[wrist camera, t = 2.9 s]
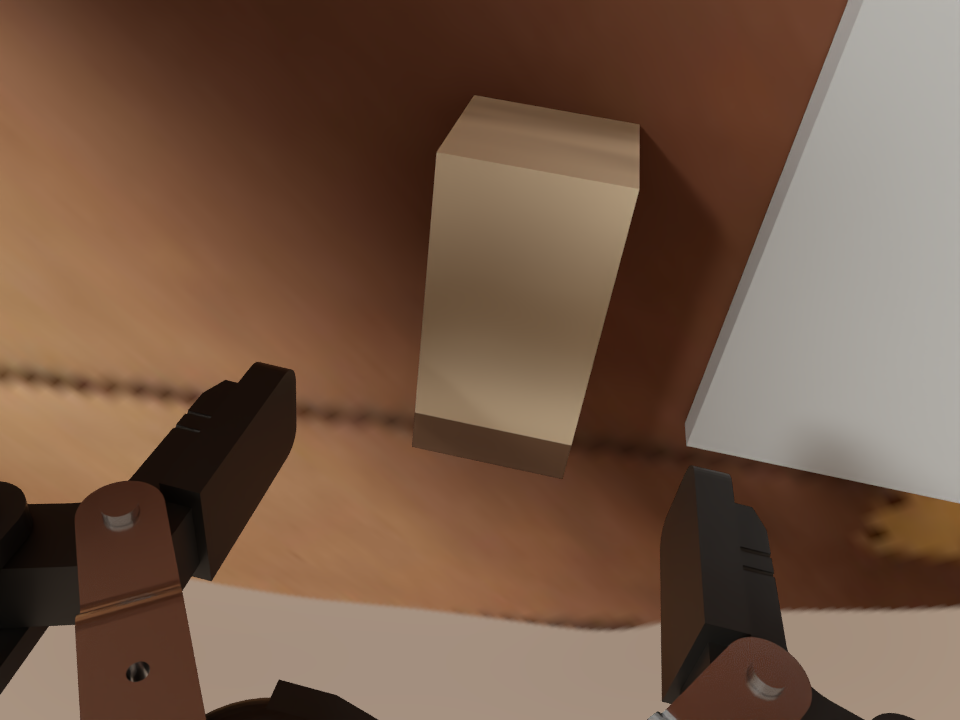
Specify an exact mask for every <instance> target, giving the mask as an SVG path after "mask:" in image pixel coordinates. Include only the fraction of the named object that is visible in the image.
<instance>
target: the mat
mask: <svg viewBox="0 0 960 720" xmlns="http://www.w3.org/2000/svg"><path fill="white" fill-rule="evenodd" d="M685 433H686V446H690V447H695V448H700V449H704V450H709V451H714V452H719V453H723V454H728V455H733V456H737V457H742V458H747V459H752V460H756V461H761V462H766V463H771V464H775V465H780V466H785V467H790V468H794V469H799V470H804V471H809V472H813V473H818V474H823V475H828V476H832V477H837V478H842V479H847V480H851V481H856V482H861V483H866V484H870V485H875V486H880V487H885V488H889V489H894V490H899V491H904V492H908V493H913V494H918V495H922V496H927V497H932V498H937V499H941V500H946V501H951V502H956V503H960V0H848V3H847V5H846V8H845V11H844V13H843V16H842V18H841V21H840V23H839V26H838V29H837V31H836V34H835V36H834V39H833V42H832V44H831V47H830V49H829V52H828V55H827V57H826V60H825V62H824V65H823V67H822V70H821V73H820V75H819V78H818V80H817V83H816V86H815V88H814V91H813V93H812V96H811V99H810V101H809V104H808V106H807V109H806V111H805V114H804V117H803V119H802V122H801V124H800V127H799V130H798V132H797V135H796V137H795V140H794V142H793V145H792V148H791V150H790V153H789V155H788V158H787V161H786V163H785V166H784V168H783V171H782V174H781V176H780V179H779V181H778V184H777V186H776V189H775V192H774V194H773V197H772V199H771V202H770V205H769V207H768V210H767V212H766V215H765V218H764V220H763V223H762V225H761V228H760V230H759V233H758V236H757V238H756V241H755V243H754V246H753V249H752V251H751V254H750V256H749V259H748V261H747V264H746V267H745V269H744V272H743V274H742V277H741V280H740V282H739V285H738V287H737V290H736V293H735V295H734V298H733V300H732V303H731V305H730V308H729V311H728V313H727V316H726V318H725V321H724V324H723V326H722V329H721V331H720V334H719V337H718V339H717V342H716V344H715V347H714V349H713V352H712V355H711V357H710V360H709V362H708V365H707V368H706V370H705V373H704V375H703V378H702V380H701V383H700V386H699V388H698V391H697V393H696V396H695V399H694V401H693V404H692V406H691V409H690V412H689V414H688V417H687V419H686V422H685Z"/></svg>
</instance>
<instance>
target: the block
mask: <svg viewBox="0 0 960 720" xmlns="http://www.w3.org/2000/svg"><path fill="white" fill-rule="evenodd" d="M639 168H640V124H634V123H629V122H623V121H617V120H612V119H606V118H601V117H595V116H589V115H584V114H578V113H572V112H567V111H561V110H555V109H550V108H544V107H538V106H533V105H527V104H522V103H516V102H510V101H505V100H499V99H493V98H488V97H482V96H476V95H474V96H473V98H472V99H471V101H470V102H469V104H468V105H467V107H466V108H465V110H464V111H463V113H462V114H461V116H460V117H459V119H458V120H457V122H456V123H455V125H454V126H453V128H452V130H451V131H450V133H449V134H448V136H447V137H446V139H445V140H444V142H443V143H442V145H441V146H440V148H439V149H438V151H437V154H436V166H435V178H434V190H433V202H432V214H431V226H430V238H429V250H428V262H427V274H426V286H425V298H424V310H423V322H422V334H421V346H420V358H419V370H418V382H417V394H416V406H415V418H414V430H413V442H412V447H415V448H420V449H425V450H429V451H434V452H439V453H443V454H448V455H453V456H457V457H462V458H466V459H471V460H476V461H480V462H485V463H490V464H494V465H499V466H504V467H508V468H513V469H518V470H522V471H527V472H532V473H536V474H541V475H546V476H550V477H555V478H559V479H563V475H564V471H565V467H566V464H567V460H568V456H569V452H570V449H571V445H572V441H573V437H574V434H575V430H576V426H577V422H578V419H579V415H580V411H581V407H582V403H583V400H584V396H585V392H586V388H587V385H588V381H589V377H590V373H591V370H592V366H593V362H594V358H595V354H596V351H597V347H598V343H599V339H600V336H601V332H602V328H603V324H604V321H605V317H606V313H607V309H608V306H609V302H610V298H611V294H612V290H613V287H614V283H615V279H616V275H617V272H618V268H619V264H620V260H621V257H622V253H623V249H624V245H625V242H626V238H627V234H628V230H629V226H630V223H631V219H632V215H633V211H634V208H635V204H636V200H637V196H638V193H639Z"/></svg>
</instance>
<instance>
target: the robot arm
mask: <svg viewBox="0 0 960 720" xmlns="http://www.w3.org/2000/svg"><path fill="white" fill-rule="evenodd" d="M295 434H296V377H295V373H294V371H293V370H291V369H287V368H282V367H278V366H274V365H270V364H265V363H261V362H256V363H254V364H253V365H252V366H251V367H250V369H249V370H248V371H247V372H246V374H245V375H244V376H243V377H242V379H241V380H240V381H239V382H238V383H236V382H232V381H228V380H225V381H223V382H221V383H219V384H218V385H216V386H214V387H212V388H211V389H209V390H207V391H205V392H204V393H202V394H201V396H200V397H199V398H198V399H197V400H196V402H195V403H194V404H193V405H192V406H191V407H190V409H189V410H188V413H187V414H185V415H184V416H183V417H182V418H181V419H180V421H179V422H178V423H177V424H176V428H173V429H172V430H171V431H170V432H169V434H168V435H167V436H166V437H165V438H164V439H163V441H162V442H161V443H160V444H159V445H158V447H157V448H156V449H155V450H154V451H153V452H152V454H151V455H150V456H149V457H148V458H147V460H146V461H145V462H144V463H143V464H142V465H141V467H140V468H139V469H138V470H137V471H136V473H135V474H134V475H133V476H132V477H131V478H130V479H129V480H128V481H122V482H116V483H112V484H109V485H106V486H104V487H101V488H99V489H98V490H96V491H94V492H93V493H91V494H90V495H89V496H87V497H86V498H85V499H84V500H83V501H82V502H81V503H65V504H27V501H26V498H25V495H24V493H23V492H22V491H21V489H19V488H18V487H17V486H15V485H13V484H10V483H7V482H1V481H0V694H1V693H2V691H3V690H4V689H5V687H6V686H7V684H8V683H9V682H10V680H11V679H12V677H13V676H14V674H15V673H16V671H17V670H18V669H19V667H20V666H21V665H22V663H23V662H24V660H25V659H26V658H27V656H28V655H29V653H30V652H31V650H32V649H33V648H34V646H35V645H36V643H37V642H38V641H39V639H40V638H41V636H42V635H43V634H44V632H45V631H46V629H47V628H48V627H49V626H58V625H75V633H76V651H77V668H78V687H79V705H80V720H377V719H376V718H374V717H373V716H371V715H369V714H368V713H366V712H364V711H362V710H361V709H359V708H357V707H356V706H354V705H352V704H351V703H349V702H347V701H345V700H344V699H342V698H340V697H339V696H337V695H334V694H330V693H326V692H322V691H319V690H315V689H311V688H308V687H304V686H300V685H297V684H293V683H290V682H286V681H282V680H279V681H278V683H277V685H276V687H275V689H274V691H273V694H272V696H271V698H257V699H249V700H245V701H240V702H236V703H232V704H229V705H226V706H223V707H221V708H218V709H216V710H213V711H211V712H209V713H207V714H205V711H204V706H203V700H202V695H201V690H200V684H199V679H198V673H197V668H196V663H195V657H194V652H193V647H192V641H191V636H190V631H189V625H188V620H187V615H186V609H185V604H184V599H183V593H182V591H183V589H184V587H185V586H186V584H187V583H188V581H189V580H190V578H191V577H192V576H193V577H197V578H201V579H205V580H209V581H212V580H213V578H214V576H215V575H216V573H217V571H218V570H219V568H220V566H221V565H222V563H223V562H224V560H225V558H226V557H227V555H228V553H229V552H230V550H231V549H232V547H233V545H234V544H235V542H236V540H237V539H238V537H239V535H240V534H241V532H242V531H243V529H244V527H245V526H246V524H247V522H248V521H249V519H250V517H251V516H252V514H253V513H254V511H255V509H256V508H257V506H258V504H259V503H260V501H261V499H262V498H263V496H264V495H265V493H266V491H267V490H268V488H269V486H270V485H271V483H272V481H273V480H274V478H275V477H276V475H277V473H278V472H279V470H280V468H281V467H282V465H283V464H284V462H285V460H286V459H287V457H288V455H289V453H290V451H291V448H292V446H293V443H294V439H295ZM770 554H771V553H770V547H769V541H768V535H767V530H766V529H765V527H764V525H763V524H762V522H761V521H760V519H759V517H758V516H757V514H756V513H755V511H754V509H753V508H752V507H749V506H745V505H741V504H736V503H735V502H734V495H733V487H732V480H731V477H730V475H729V474H726V473H722V472H717V471H713V470H709V469H705V468H700V467H696V466H692V465H691V466H689V467H688V469H687V471H686V473H685V475H684V477H683V479H682V482H681V484H680V486H679V489H678V491H677V493H676V496H675V498H674V500H673V503H672V505H671V507H670V510H669V512H668V514H667V517H666V519H665V523H664V526H663V530H662V536H661V543H660V579H661V656H662V657H661V659H662V660H661V663H662V702H666V703H670V704H671V705H670V706H669V707H668V708H667V709H666V710H665V711H664V712H663V713H660V712H656V713H654V714H653V715H652V716H651V717H650V718H648V719H647V720H864V719H862V718H860V717H858V716H857V715H855V714H853V713H851V712H849V711H847V710H846V709H844V708H842V707H840V706H839V705H837V704H835V703H833V702H832V701H830V700H828V699H827V698H825V697H823V696H822V695H821V694H819V693H818V692H817V691H816V690H814V689H813V688H812V687H811V685H810V682H809V679H808V677H807V675H806V673H805V671H804V670H803V668H802V666H801V665H800V664H799V663H798V662H797V660H796V659H795V658H794V657H793V656H792V655H791V654H790V653H789V652H788V650H787V647H786V641H785V635H784V629H783V623H782V617H781V611H780V605H779V600H778V594H777V588H776V582H775V577H773V574H774V570H773V565H772V559H771V558H770ZM872 720H914V719H912V718H910V717H907V716H904V715H900V714H895V713H886V714H881V715H878V716H876V717H875V718H873V719H872Z"/></svg>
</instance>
